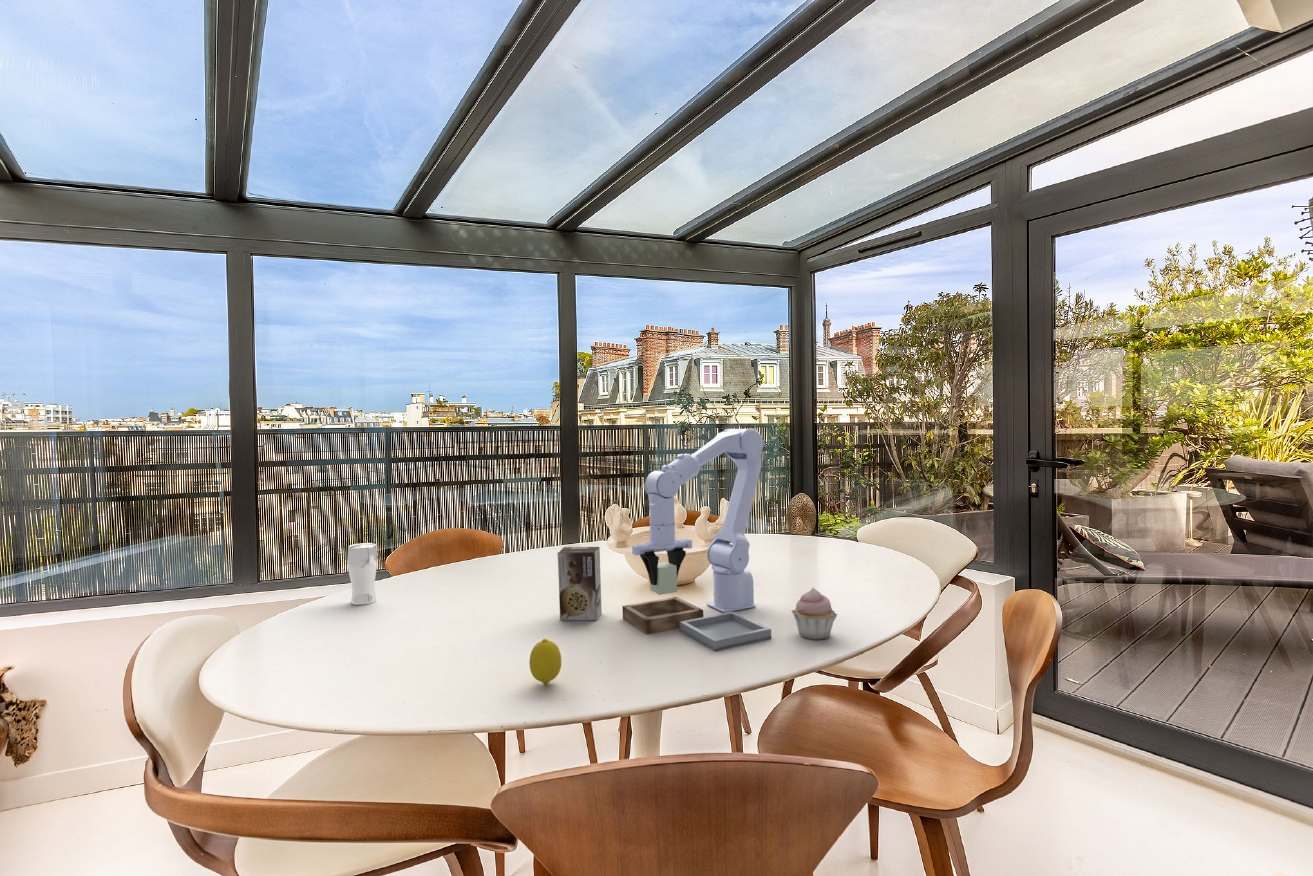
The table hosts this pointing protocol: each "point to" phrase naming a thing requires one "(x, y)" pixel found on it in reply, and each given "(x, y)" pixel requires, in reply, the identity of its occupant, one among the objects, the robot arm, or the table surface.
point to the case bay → (660, 623)
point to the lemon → (545, 661)
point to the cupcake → (814, 615)
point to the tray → (725, 630)
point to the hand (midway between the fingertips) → (663, 582)
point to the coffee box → (579, 583)
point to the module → (665, 579)
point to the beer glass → (362, 572)
